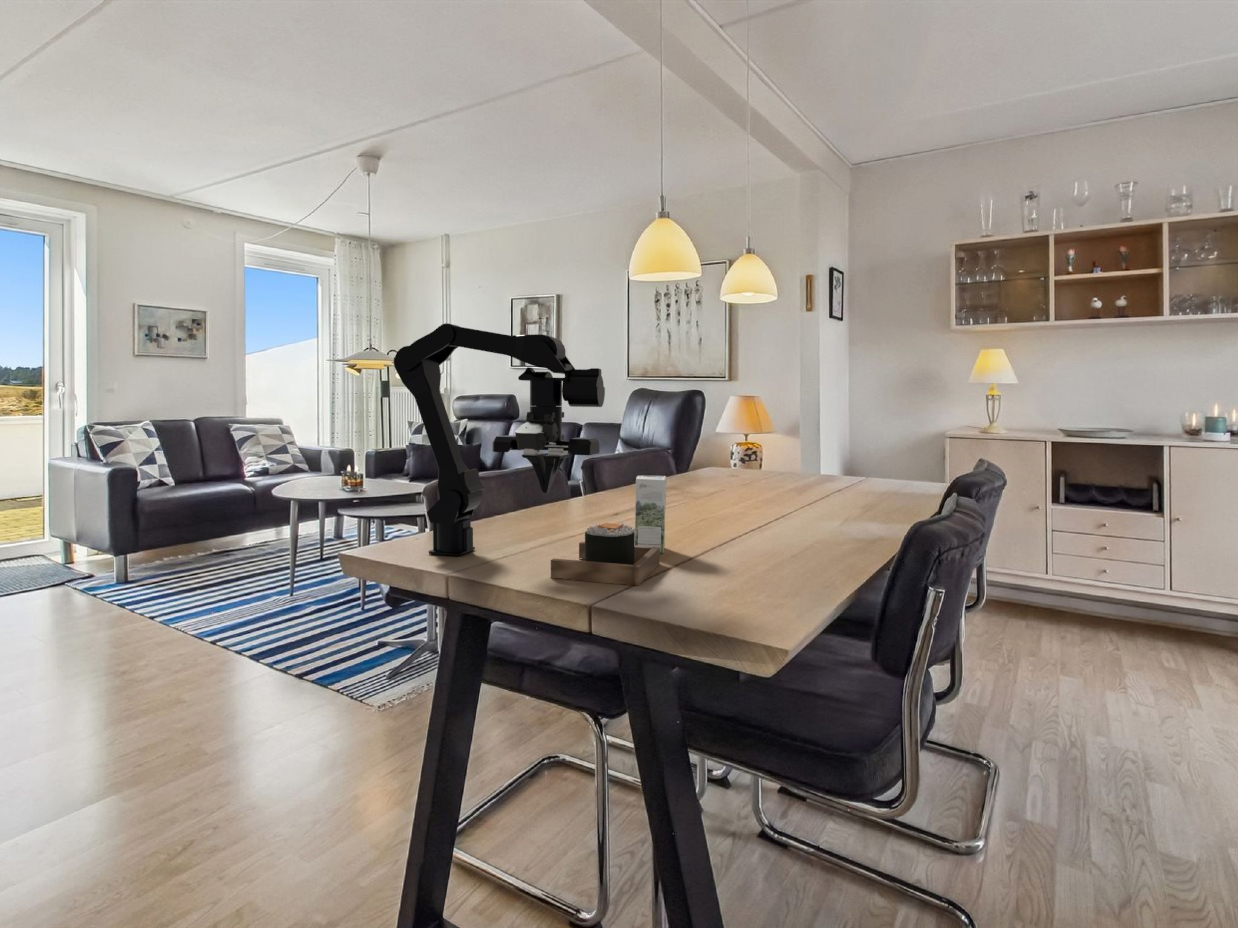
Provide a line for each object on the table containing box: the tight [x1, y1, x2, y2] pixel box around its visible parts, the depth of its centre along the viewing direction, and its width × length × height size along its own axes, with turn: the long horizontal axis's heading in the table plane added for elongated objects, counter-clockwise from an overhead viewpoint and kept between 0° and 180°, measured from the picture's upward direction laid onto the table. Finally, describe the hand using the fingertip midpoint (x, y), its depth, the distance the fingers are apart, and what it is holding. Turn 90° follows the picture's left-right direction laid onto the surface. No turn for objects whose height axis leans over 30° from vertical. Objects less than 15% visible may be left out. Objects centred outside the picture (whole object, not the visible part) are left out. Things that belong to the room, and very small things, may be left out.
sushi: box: [584, 522, 635, 565], centre depth 119 cm, size 8×8×8 cm
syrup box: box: [634, 474, 667, 554], centre depth 136 cm, size 6×6×14 cm
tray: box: [550, 541, 661, 587], centre depth 120 cm, size 15×15×3 cm
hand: (545, 492), depth 127 cm, fingers closed
